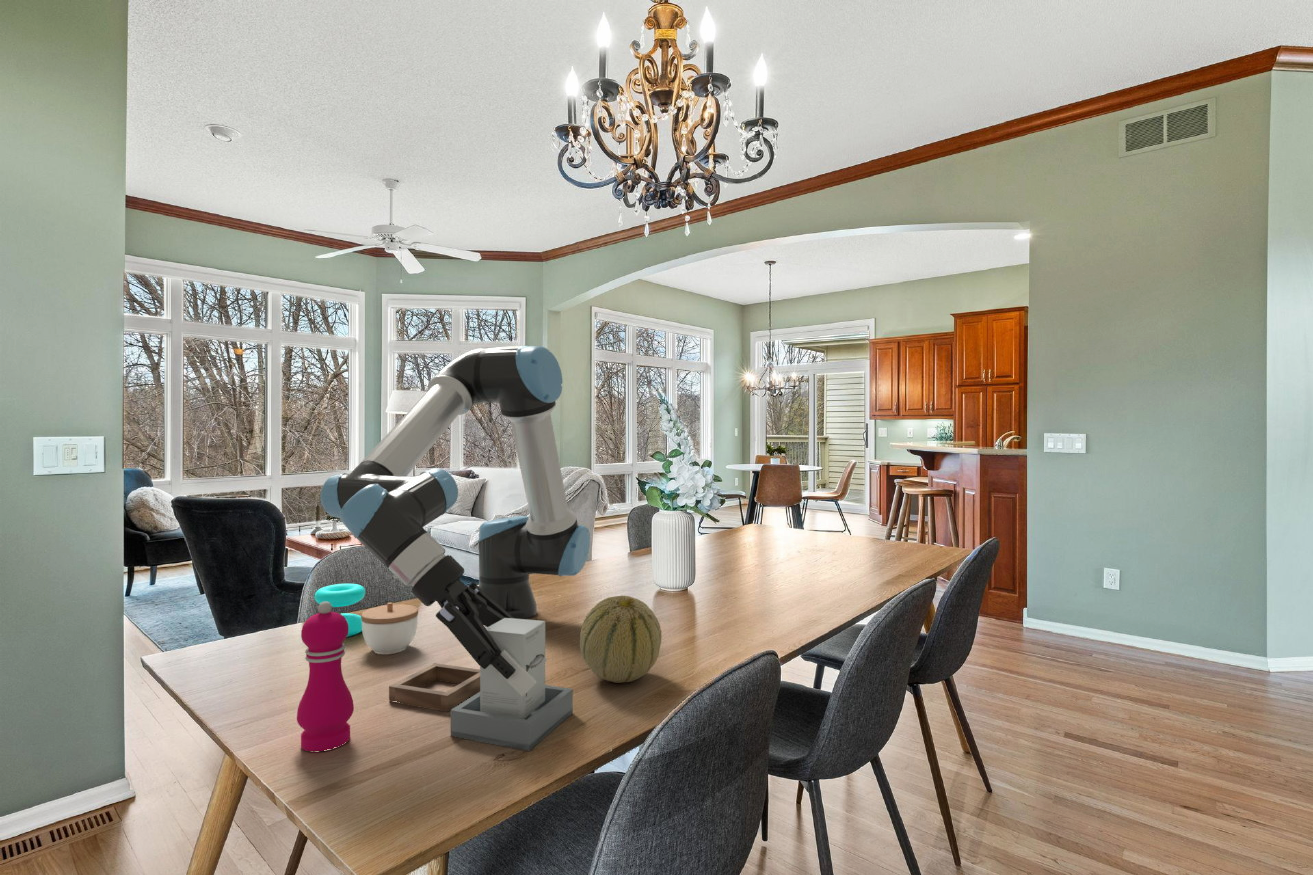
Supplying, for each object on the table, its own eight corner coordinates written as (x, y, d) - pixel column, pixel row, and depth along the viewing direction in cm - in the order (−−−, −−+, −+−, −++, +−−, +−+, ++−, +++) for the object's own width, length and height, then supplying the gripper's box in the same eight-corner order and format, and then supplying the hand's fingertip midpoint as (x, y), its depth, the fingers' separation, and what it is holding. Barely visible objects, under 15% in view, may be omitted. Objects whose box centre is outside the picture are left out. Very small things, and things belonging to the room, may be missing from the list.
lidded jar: (428, 648, 134) (428, 602, 134) (375, 662, 126) (375, 613, 126) (403, 637, 141) (403, 593, 141) (352, 649, 133) (351, 603, 133)
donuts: (317, 584, 147) (366, 580, 151) (318, 628, 148) (366, 624, 151) (311, 594, 138) (363, 590, 141) (311, 642, 138) (363, 637, 142)
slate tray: (501, 701, 108) (501, 678, 108) (572, 712, 103) (572, 688, 103) (450, 736, 96) (450, 710, 96) (529, 750, 91) (529, 723, 91)
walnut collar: (434, 676, 119) (434, 662, 119) (489, 685, 115) (489, 670, 115) (389, 701, 108) (388, 686, 108) (447, 711, 104) (447, 695, 104)
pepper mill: (310, 731, 97) (309, 595, 97) (361, 729, 98) (360, 594, 98) (287, 755, 90) (286, 609, 90) (342, 753, 91) (341, 607, 90)
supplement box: (523, 722, 95) (523, 634, 95) (478, 715, 97) (478, 629, 97) (547, 701, 102) (546, 620, 102) (504, 696, 104) (504, 616, 104)
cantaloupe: (609, 659, 128) (609, 581, 127) (676, 673, 120) (676, 591, 120) (561, 685, 115) (561, 598, 115) (633, 702, 107) (632, 610, 107)
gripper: (434, 572, 110) (531, 668, 110) (381, 607, 89) (501, 726, 89) (466, 540, 110) (563, 636, 110) (420, 568, 89) (540, 687, 89)
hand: (535, 676), depth 100 cm, fingers closed on supplement box, 9 cm apart
